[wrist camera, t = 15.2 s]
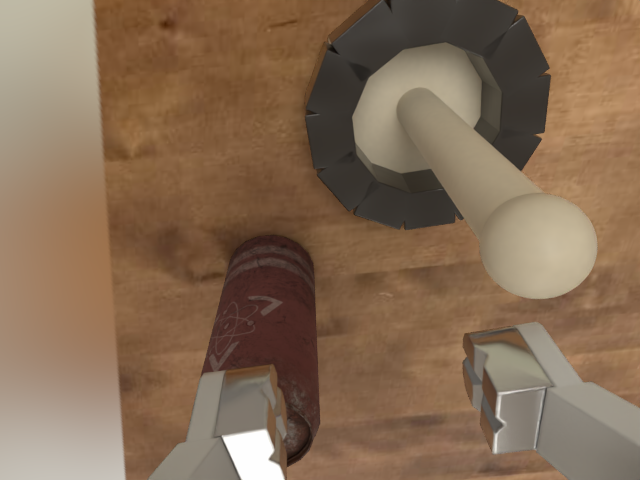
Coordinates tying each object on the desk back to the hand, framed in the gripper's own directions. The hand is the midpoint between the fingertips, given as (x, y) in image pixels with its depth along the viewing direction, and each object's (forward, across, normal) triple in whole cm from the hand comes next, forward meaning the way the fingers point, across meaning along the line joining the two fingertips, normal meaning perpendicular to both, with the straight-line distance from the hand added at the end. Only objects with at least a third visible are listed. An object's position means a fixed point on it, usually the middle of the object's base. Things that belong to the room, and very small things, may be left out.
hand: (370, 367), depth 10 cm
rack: (+20, -6, 0) cm, 21 cm away
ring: (+19, -5, 0) cm, 19 cm away
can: (+20, +5, +10) cm, 23 cm away
